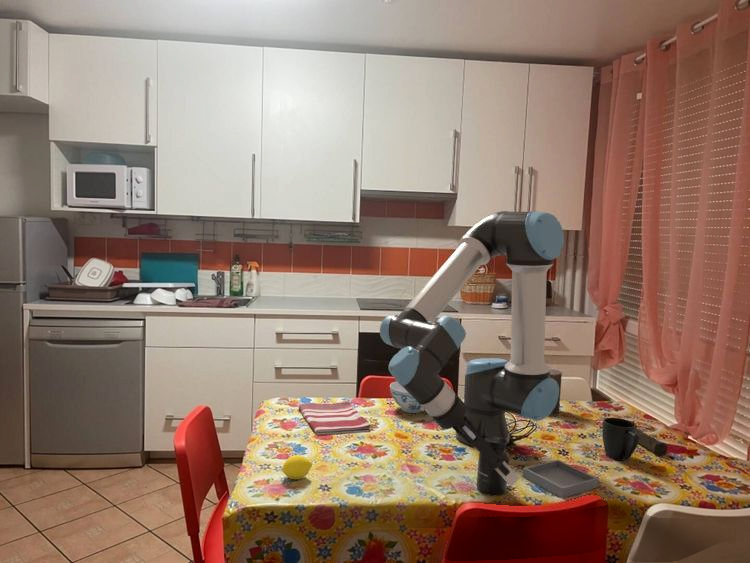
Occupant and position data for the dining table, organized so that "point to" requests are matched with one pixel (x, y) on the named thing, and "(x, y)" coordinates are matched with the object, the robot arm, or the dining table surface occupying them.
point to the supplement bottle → (489, 478)
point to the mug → (619, 438)
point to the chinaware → (404, 398)
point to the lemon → (296, 467)
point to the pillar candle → (557, 377)
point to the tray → (560, 478)
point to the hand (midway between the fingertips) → (504, 471)
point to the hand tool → (652, 443)
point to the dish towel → (333, 418)
